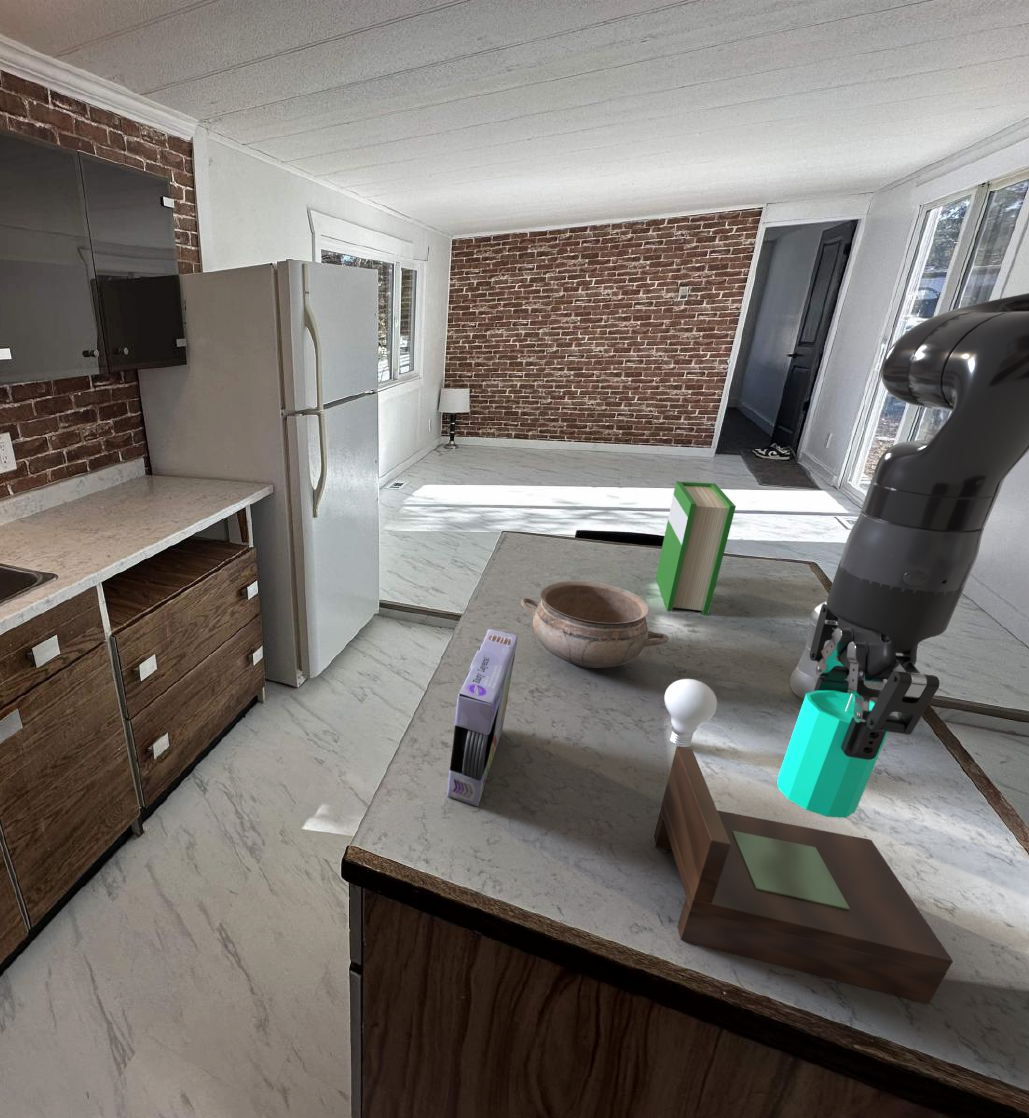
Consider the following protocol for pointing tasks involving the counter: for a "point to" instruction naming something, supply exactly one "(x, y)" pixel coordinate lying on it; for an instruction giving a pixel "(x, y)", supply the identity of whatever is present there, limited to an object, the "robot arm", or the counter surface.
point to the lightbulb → (688, 708)
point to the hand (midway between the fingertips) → (838, 731)
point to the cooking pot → (592, 623)
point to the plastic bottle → (807, 662)
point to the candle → (824, 757)
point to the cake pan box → (480, 716)
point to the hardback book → (694, 545)
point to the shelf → (794, 894)
